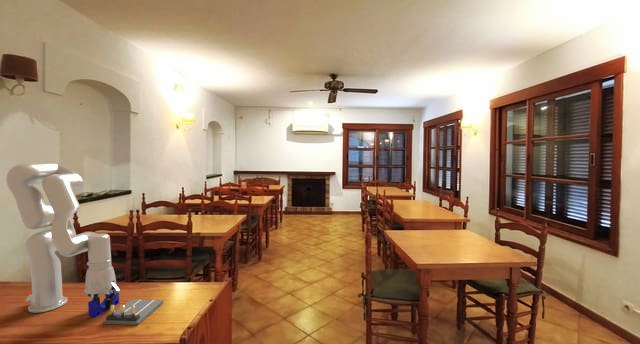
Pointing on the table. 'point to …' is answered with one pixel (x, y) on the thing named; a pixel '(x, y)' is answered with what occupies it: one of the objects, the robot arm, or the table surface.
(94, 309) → the blue curved bracket
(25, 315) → the table surface
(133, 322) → the header board
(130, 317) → the brass pins
